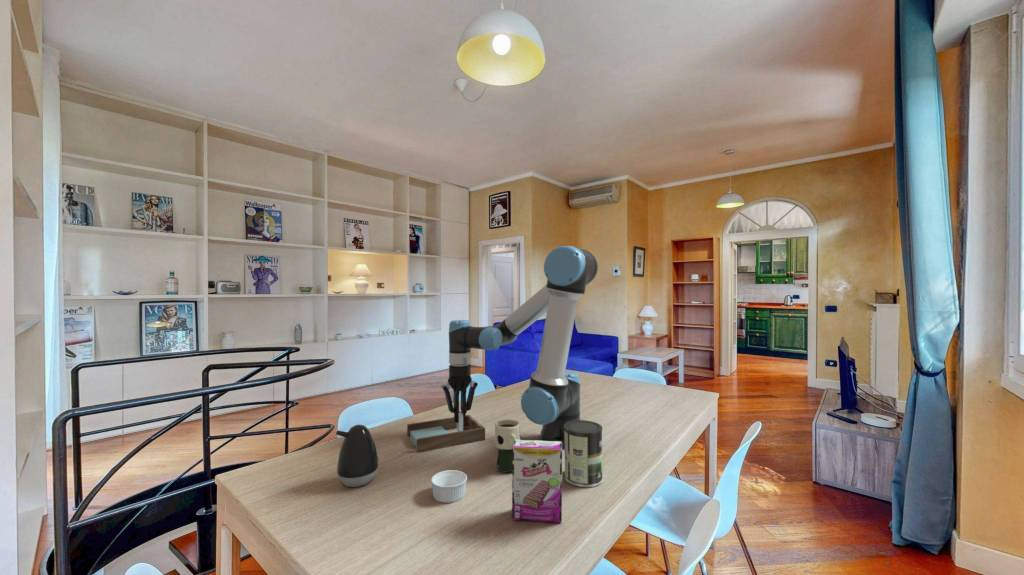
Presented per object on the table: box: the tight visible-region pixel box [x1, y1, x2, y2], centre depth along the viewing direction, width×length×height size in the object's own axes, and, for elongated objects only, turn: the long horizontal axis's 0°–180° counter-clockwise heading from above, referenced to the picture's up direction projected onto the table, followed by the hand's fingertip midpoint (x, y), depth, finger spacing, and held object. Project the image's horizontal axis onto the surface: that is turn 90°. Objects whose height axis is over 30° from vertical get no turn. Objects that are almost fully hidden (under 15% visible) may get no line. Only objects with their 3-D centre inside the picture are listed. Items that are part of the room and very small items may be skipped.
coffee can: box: [564, 419, 604, 488], centre depth 105 cm, size 10×10×14 cm
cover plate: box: [409, 426, 449, 449], centre depth 132 cm, size 10×11×3 cm
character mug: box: [494, 419, 521, 473], centre depth 111 cm, size 11×7×13 cm, turn 22°
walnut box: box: [406, 414, 486, 453], centre depth 135 cm, size 16×23×4 cm
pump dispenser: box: [335, 424, 379, 488], centre depth 104 cm, size 10×10×15 cm
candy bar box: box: [511, 439, 563, 524], centre depth 88 cm, size 11×5×16 cm, turn 84°
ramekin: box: [430, 469, 468, 504], centre depth 97 cm, size 9×9×4 cm
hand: (459, 431), depth 137 cm, fingers closed
